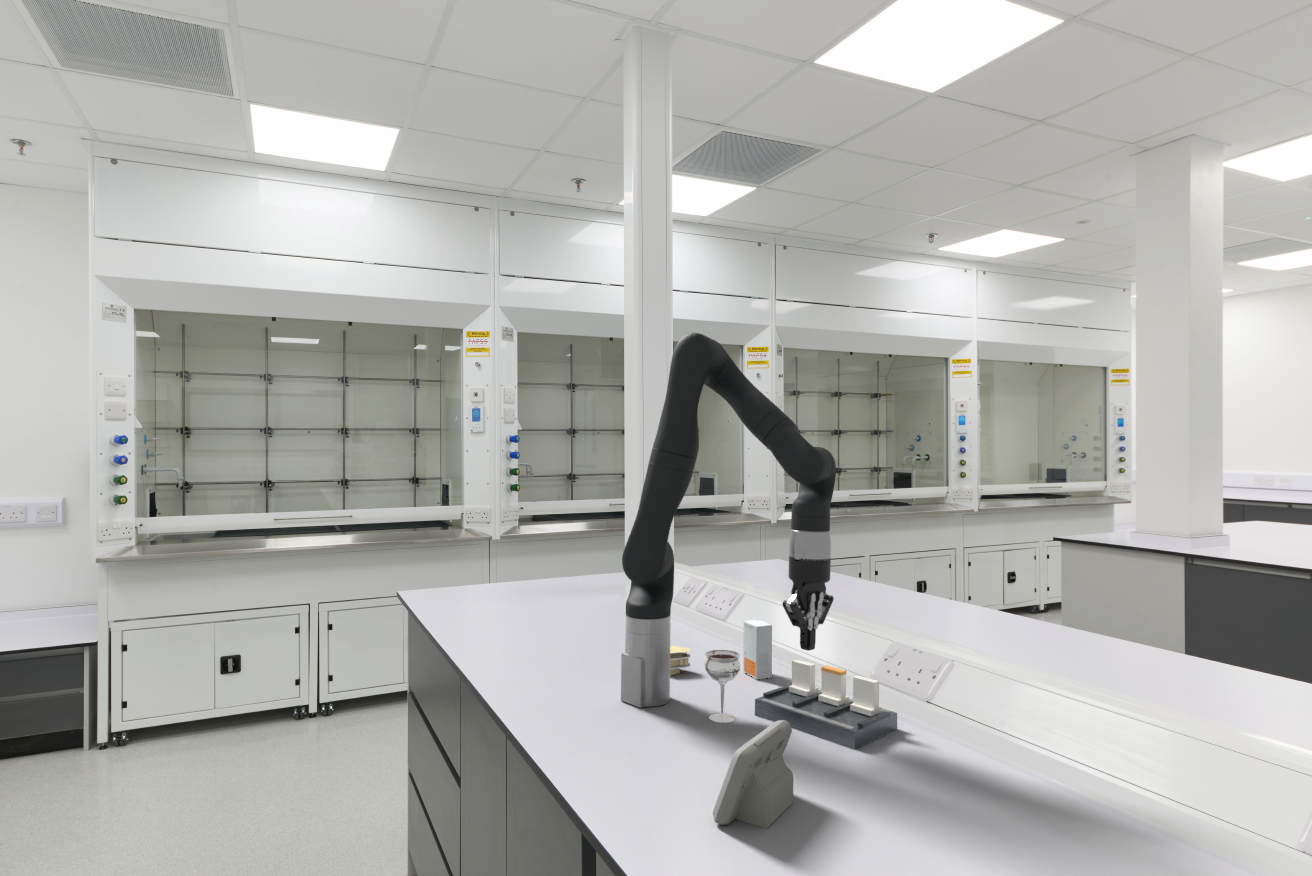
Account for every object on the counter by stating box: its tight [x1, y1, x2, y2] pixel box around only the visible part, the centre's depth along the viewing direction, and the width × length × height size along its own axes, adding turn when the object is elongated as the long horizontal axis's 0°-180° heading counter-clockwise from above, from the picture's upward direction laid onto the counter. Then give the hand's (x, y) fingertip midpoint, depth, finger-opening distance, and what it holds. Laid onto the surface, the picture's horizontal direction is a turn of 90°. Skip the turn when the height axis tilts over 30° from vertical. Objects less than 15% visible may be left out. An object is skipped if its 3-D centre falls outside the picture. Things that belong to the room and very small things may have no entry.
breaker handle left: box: [789, 659, 819, 697], centre depth 143 cm, size 4×4×6 cm
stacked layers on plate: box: [670, 645, 691, 676], centre depth 167 cm, size 10×9×6 cm
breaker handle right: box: [850, 675, 883, 716], centre depth 133 cm, size 4×4×6 cm
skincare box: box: [742, 619, 773, 680], centre depth 165 cm, size 6×4×12 cm
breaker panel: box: [754, 683, 898, 750], centre depth 136 cm, size 14×22×4 cm, turn 42°
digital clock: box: [712, 720, 794, 829], centre depth 102 cm, size 16×9×11 cm, turn 135°
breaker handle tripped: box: [818, 665, 850, 706], centre depth 138 cm, size 4×4×6 cm
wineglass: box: [704, 649, 741, 724], centre depth 138 cm, size 7×7×12 cm
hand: (807, 649), depth 133 cm, fingers closed
